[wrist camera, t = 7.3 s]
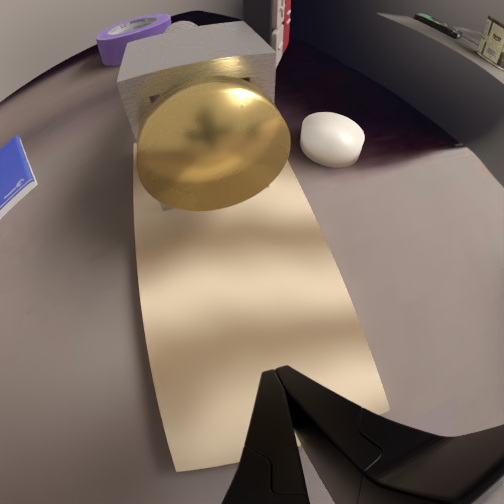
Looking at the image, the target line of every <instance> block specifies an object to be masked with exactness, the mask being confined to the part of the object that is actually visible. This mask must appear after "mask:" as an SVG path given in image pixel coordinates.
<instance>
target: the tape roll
mask: <svg viewBox="0 0 504 504" xmlns="http://www.w3.org/2000/svg"><path fill="white" fill-rule="evenodd" d="M170 25H171V18H170V16H169V15H167V14H154V15H146V16H141V17H137V18H133V19H130V20H127V21H123V22H121V23H118V24H116V25H113V26H111V27H109V28H107V29H106V30H104V31H102V32H101V33H100V34H98V35H97V37H96V40H97V44H98V48H99V51H100V55H101V59H102V62H103V64H104V65H106V66H120V65H121V63H122V60H123V56H124V52H125V49H126V46H127V43H129V42H132V41H136V40H139V39H143V38H147V37H151V36H155V35H159V34H163V33H164V31H165V30H166V29H167V27H169V26H170Z"/></svg>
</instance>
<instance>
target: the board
mask: <svg viewBox="0 0 504 504" xmlns="http://www.w3.org/2000/svg"><path fill="white" fill-rule="evenodd" d="M136 150H137V143H134V149H133V205H134V230H135V247H136V261H137V272H138V283H139V292H140V301H141V309H142V317H143V324H144V331H145V337H146V344H147V350H148V356H149V361H150V367H151V372H152V377H153V382H154V387H155V392H156V397H157V401H158V406H159V410H160V414H161V418H162V422H163V426H164V430H165V434H166V438H167V442H168V445H169V449H170V452H171V456H172V459H173V463H174V466H175V469H176V472H181V471H189V470H197V469H203V468H210V467H216V466H222V465H227V464H232V463H237V462H239V461H240V458H241V454H242V451H243V447H244V443H245V439H246V435H247V431H248V427H249V423H250V419H251V415H252V411H253V407H254V403H255V399H256V394H257V390H258V386H259V381H260V377H261V373H262V372H263V371H267V370H271V369H274V370H275V369H276V368H278V367H281V366H284V365H289V366H290V367H292V368H294V369H295V370H297V371H299V372H300V373H302V374H304V375H306V376H307V377H309V378H311V379H312V380H314V381H316V382H318V383H319V384H321V385H323V386H325V387H326V388H328V389H330V390H332V391H334V392H335V393H337V394H339V395H341V396H343V397H345V398H346V399H348V400H350V401H352V402H354V403H356V404H358V405H360V406H361V407H362V408H366V409H368V410H369V411H371V412H373V413H376V414H378V415H381V414H383V413H385V412H387V411H389V410H390V408H389V405H388V402H387V398H386V395H385V392H384V389H383V386H382V383H381V380H380V377H379V374H378V371H377V368H376V365H375V363H374V360H373V357H372V354H371V351H370V349H369V346H368V343H367V340H366V338H365V335H364V332H363V330H362V327H361V324H360V322H359V319H358V316H357V314H356V311H355V309H354V306H353V304H352V301H351V299H350V296H349V294H348V291H347V289H346V286H345V284H344V282H343V279H342V277H341V274H340V272H339V270H338V267H337V265H336V263H335V260H334V258H333V256H332V253H331V251H330V249H329V247H328V244H327V242H326V240H325V238H324V235H323V233H322V231H321V229H320V227H319V224H318V222H317V220H316V218H315V216H314V214H313V211H312V209H311V207H310V205H309V203H308V201H307V199H306V197H305V195H304V193H303V191H302V188H301V186H300V184H299V182H298V180H297V178H296V176H295V174H294V172H293V170H292V168H291V166H290V164H289V162H288V160H287V162H286V164H285V166H284V168H283V169H282V171H281V172H280V174H279V175H278V176H277V177H276V179H275V180H274V181H273V182H272V183H271V184H270V187H269V188H265V189H264V190H262V191H261V192H260V193H258V194H257V195H255V196H253V197H251V198H250V199H248V200H246V201H243V202H241V203H239V204H236V205H233V206H230V207H227V208H223V209H218V210H211V211H186V210H180V209H176V208H175V209H171V210H167V211H163V210H162V207H161V205H160V203H159V201H158V200H156V199H155V198H153V197H152V196H151V195H150V194H149V193H148V192H147V191H146V190H145V188H144V187H143V185H142V183H141V182H140V179H139V176H138V173H137V166H136ZM295 436H296V434H295ZM296 441H297V446H298V447H299V446H302V445H301V443H300V441H299V439H298V437H297V436H296Z"/></svg>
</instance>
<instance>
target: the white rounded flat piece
mask: <svg viewBox="0 0 504 504" xmlns="http://www.w3.org/2000/svg"><path fill="white" fill-rule="evenodd" d="M364 138H365V137H364V133H363V131H362V129H361V128H360V127H359V126H358V125H357V124H356V123H355V122H354V121H352V120H351V119H349V118H347V117H345V116H342V115H339V114H336V113H330V112H319V113H314V114H311V115H309V116H307V117H306V118H305V119H304V121H303V123H302V130H301V138H300V147H301V150H302V151H303V153H304V154H305V155H306V156H307V157H308V158H309V159H311V160H312V161H314V162H316V163H318V164H320V165H323V166H326V167H331V168H344V167H348V166H351V165H353V164H354V163H355V162H356V161H357V160H358V157H359V154H360V151H361V149H362V146H363V143H364Z"/></svg>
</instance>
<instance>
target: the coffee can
mask: <svg viewBox="0 0 504 504" xmlns="http://www.w3.org/2000/svg"><path fill="white" fill-rule="evenodd" d="M477 53H478V54H479V55H480V56H481V57H482V58H484V59H485V60H486V61H488V62H489V63H491V64H492V65H494V66H495V67H497V68H499V69H501V70H503V71H504V25H503V24H502V23H500V22H499V21H497V20H495V19H494V18H492V17H490V16H488V20H487V24H486V27H485V30H484V33H483V36H482V39H481V42H480V45H479V48H478V51H477Z"/></svg>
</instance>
